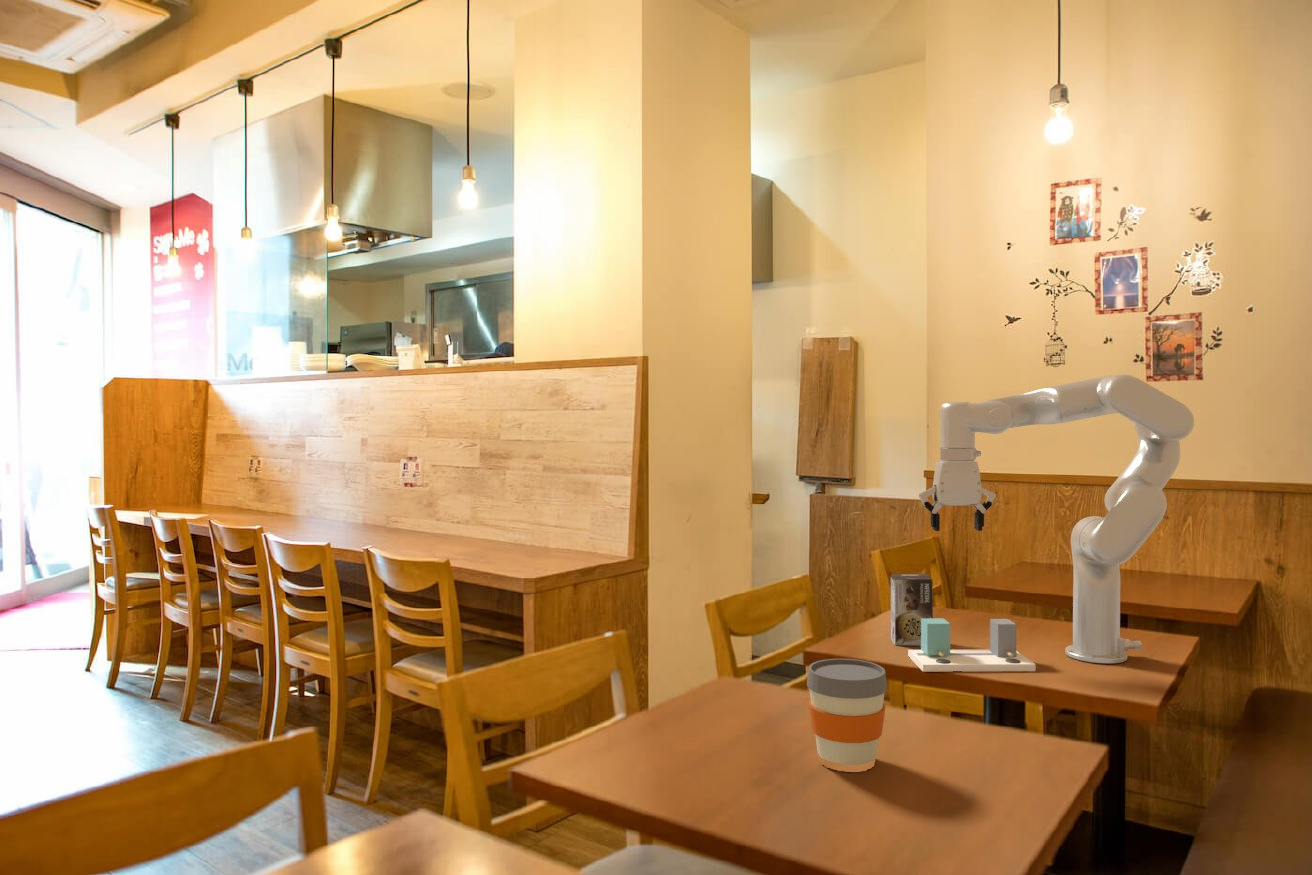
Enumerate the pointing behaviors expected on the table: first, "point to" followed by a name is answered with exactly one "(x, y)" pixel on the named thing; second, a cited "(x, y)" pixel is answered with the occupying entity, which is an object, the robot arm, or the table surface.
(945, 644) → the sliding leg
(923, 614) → the coffee box
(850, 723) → the reusable coffee cup
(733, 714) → the table surface
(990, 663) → the board
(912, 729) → the table surface
